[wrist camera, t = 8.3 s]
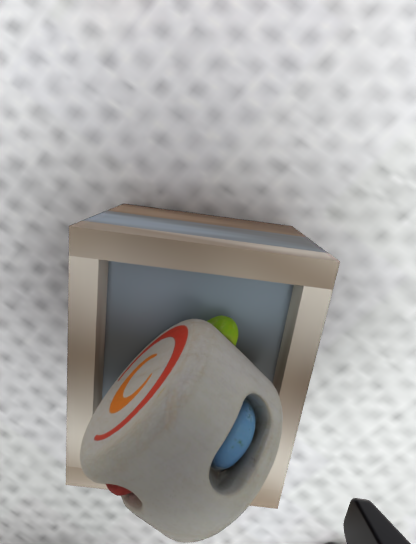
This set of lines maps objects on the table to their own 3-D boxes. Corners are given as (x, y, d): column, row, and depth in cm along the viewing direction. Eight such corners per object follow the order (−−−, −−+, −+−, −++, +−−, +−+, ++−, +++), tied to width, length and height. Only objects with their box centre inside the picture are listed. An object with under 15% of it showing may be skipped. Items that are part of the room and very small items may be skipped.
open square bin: (256, 399, 22) (277, 508, 15) (113, 382, 21) (66, 484, 14) (292, 226, 18) (339, 261, 11) (123, 203, 18) (69, 226, 11)
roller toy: (284, 360, 14) (331, 488, 8) (174, 446, 15) (152, 606, 10) (209, 285, 13) (206, 373, 7) (99, 384, 14) (27, 520, 9)
